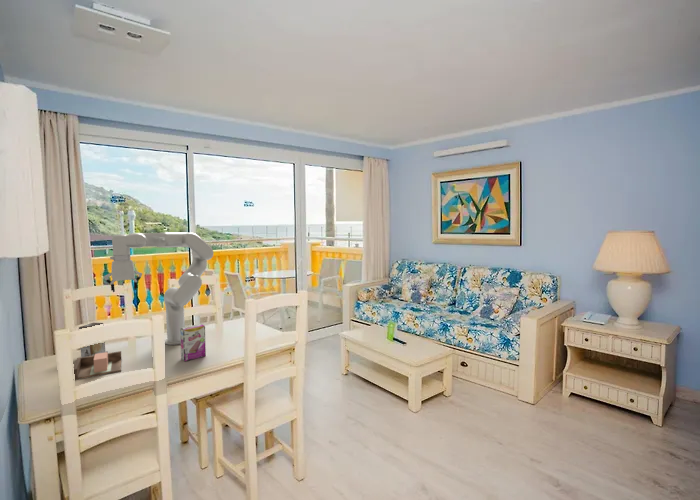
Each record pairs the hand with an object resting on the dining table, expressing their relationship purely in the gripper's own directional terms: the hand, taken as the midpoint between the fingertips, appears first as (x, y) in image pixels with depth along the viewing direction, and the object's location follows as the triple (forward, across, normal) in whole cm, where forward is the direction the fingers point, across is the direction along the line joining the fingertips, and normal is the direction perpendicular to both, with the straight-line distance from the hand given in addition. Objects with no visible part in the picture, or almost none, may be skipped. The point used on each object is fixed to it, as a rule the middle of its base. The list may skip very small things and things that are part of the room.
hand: (124, 290), depth 196 cm
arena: (+33, -13, -18) cm, 40 cm away
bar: (+32, -12, -19) cm, 39 cm away
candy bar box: (+34, +28, -26) cm, 51 cm away
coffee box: (+34, -16, +7) cm, 38 cm away
